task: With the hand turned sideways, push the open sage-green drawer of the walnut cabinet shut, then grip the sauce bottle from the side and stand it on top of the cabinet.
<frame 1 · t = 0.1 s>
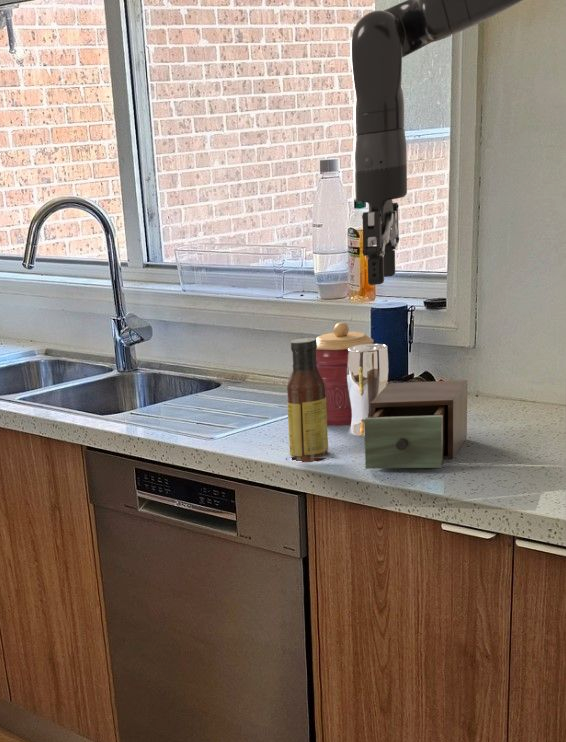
hand: (382, 280, 184), 28 cm above the countertop, tool pointing down, fingers open, 8 cm apart
drawer: (410, 433, 191), point 5 cm above the countertop, slide at 6.0 cm
kitchen canister: (341, 421, 225), on the countertop
beer glass: (366, 435, 213), on the countertop
cabinet: (419, 449, 200), on the countertop
sauce bottle: (307, 462, 203), on the countertop
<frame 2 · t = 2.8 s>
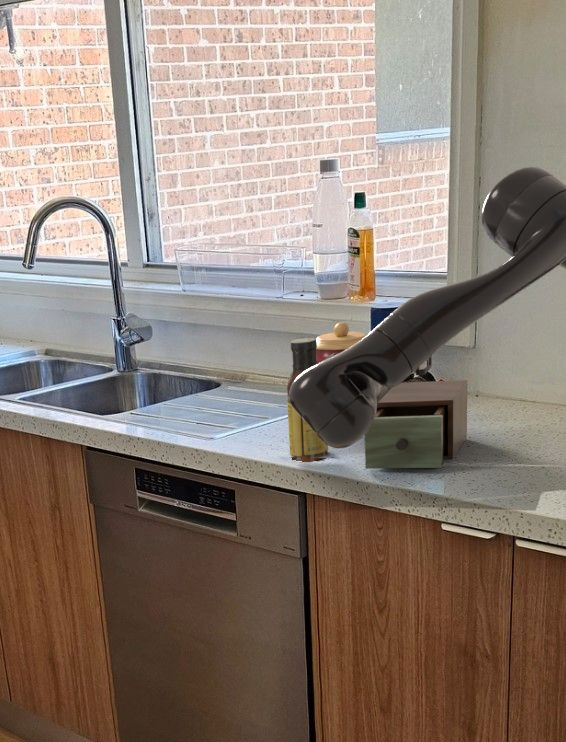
hand: (387, 353, 173), 20 cm above the countertop, tool horizontal, fingers open, 7 cm apart
nothing on the countertop moved.
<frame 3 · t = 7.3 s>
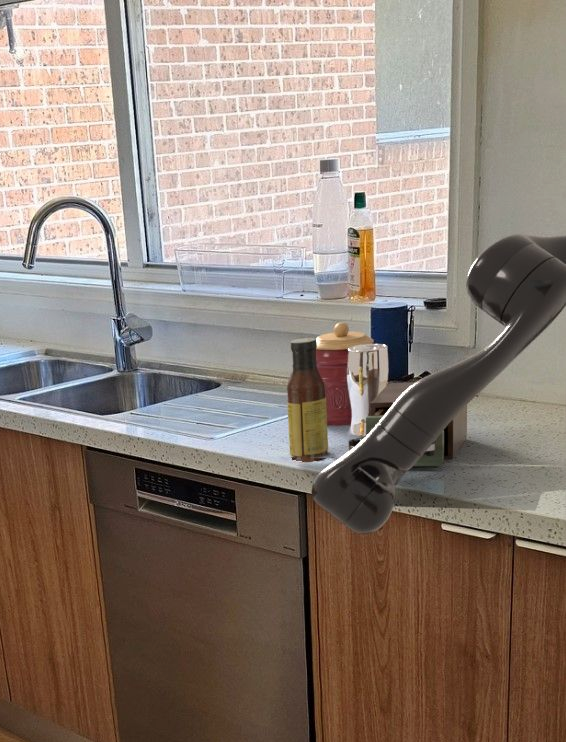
hand: (402, 432, 185), 6 cm above the countertop, tool horizontal, fingers closed
drawer: (411, 431, 192), point 5 cm above the countertop, slide at 4.9 cm, touching gripper
everything else where it was.
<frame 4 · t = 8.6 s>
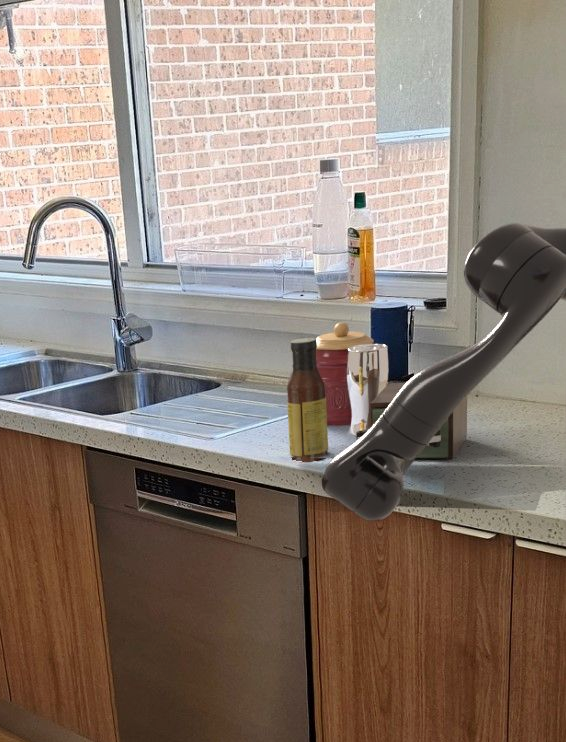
hand: (408, 424, 189), 6 cm above the countertop, tool horizontal, fingers closed
drawer: (417, 424, 196), point 5 cm above the countertop, slide at 0.0 cm, touching cabinet, gripper
everything else where it was.
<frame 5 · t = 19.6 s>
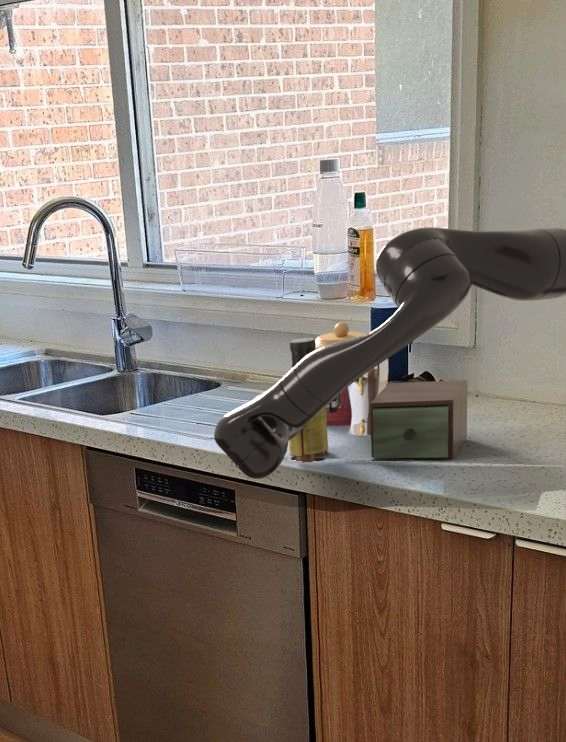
hand: (309, 391, 200), 11 cm above the countertop, tool horizontal, fingers closed on sauce bottle, 6 cm apart
drawer: (417, 424, 196), point 5 cm above the countertop, slide at 0.0 cm, touching cabinet
sauce bottle: (308, 462, 203), on the countertop, touching gripper
everything else where it was.
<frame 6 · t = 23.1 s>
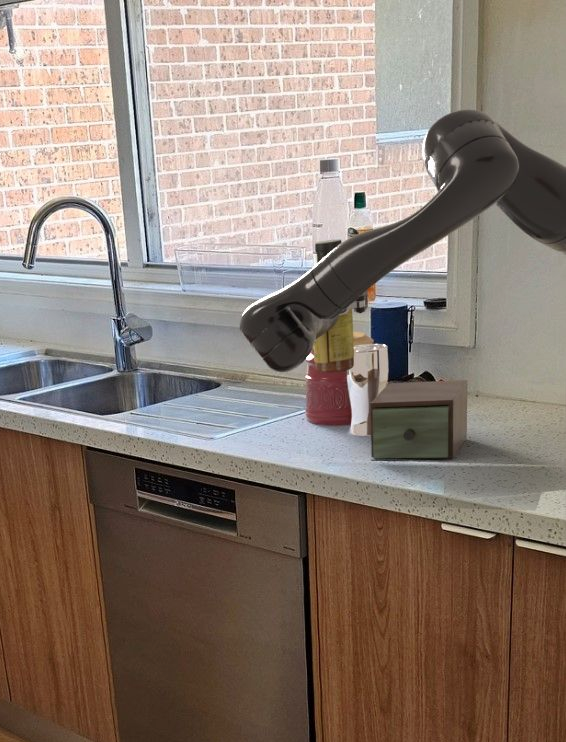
hand: (334, 297, 194), 25 cm above the countertop, tool horizontal, fingers closed on sauce bottle, 6 cm apart
sauce bottle: (333, 371, 196), point 14 cm above the countertop, touching gripper
everything else where it was.
when the fingers open (21 cm above the countertop, at t = 26.9 s): sauce bottle stays where it is, resting on cabinet.
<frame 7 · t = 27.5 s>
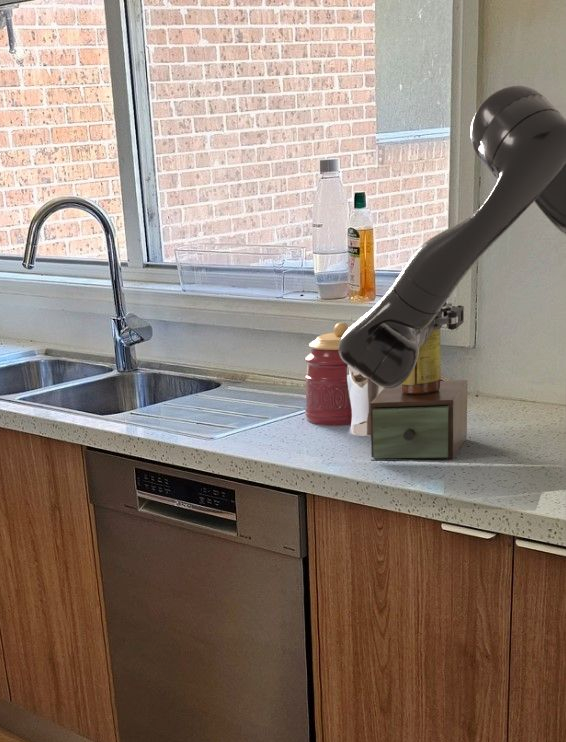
hand: (421, 312, 192), 22 cm above the countertop, tool horizontal, fingers open, 8 cm apart
sauce bottle: (418, 393, 196), point 9 cm above the countertop, touching cabinet
everything else where it was.
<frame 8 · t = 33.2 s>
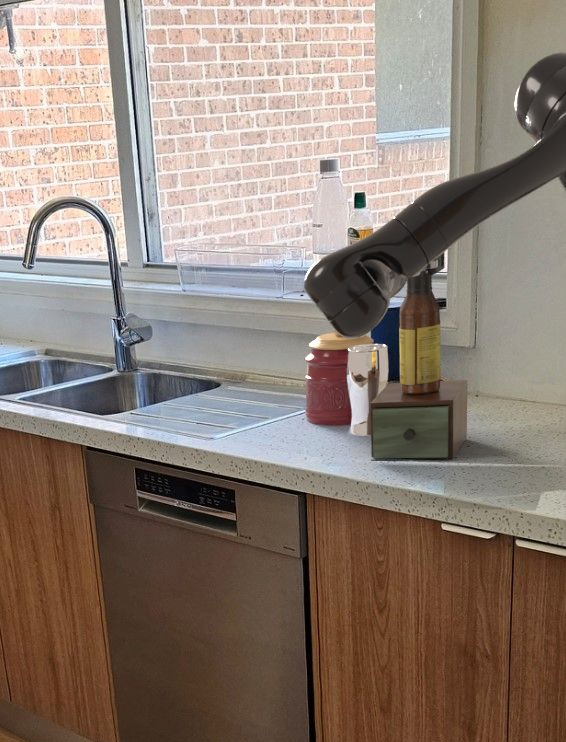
hand: (398, 259, 174), 32 cm above the countertop, tool horizontal, fingers open, 8 cm apart
nothing on the countertop moved.
at the end: drawer slide at 0.0 cm; sauce bottle inside the target area on the cabinet (0.2 cm from its centre), point 9.3 cm above the cabinet's base; sauce bottle tilted 0° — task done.
